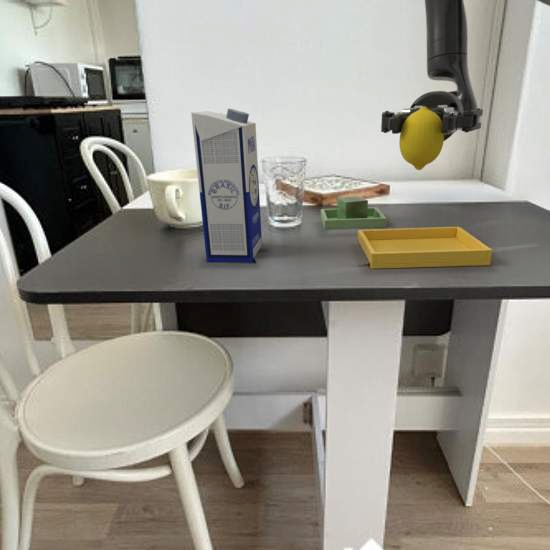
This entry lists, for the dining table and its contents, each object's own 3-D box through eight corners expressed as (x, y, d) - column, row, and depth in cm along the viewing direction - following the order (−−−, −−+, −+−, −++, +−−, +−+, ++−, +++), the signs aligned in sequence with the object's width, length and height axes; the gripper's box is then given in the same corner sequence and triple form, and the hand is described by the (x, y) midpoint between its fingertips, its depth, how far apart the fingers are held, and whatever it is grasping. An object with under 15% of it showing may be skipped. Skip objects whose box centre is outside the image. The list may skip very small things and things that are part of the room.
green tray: (376, 218, 80) (376, 207, 80) (386, 230, 73) (386, 218, 72) (320, 220, 81) (320, 209, 80) (324, 232, 73) (324, 220, 72)
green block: (357, 218, 79) (358, 195, 77) (367, 223, 75) (368, 200, 74) (336, 220, 78) (337, 197, 76) (345, 225, 74) (345, 202, 73)
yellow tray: (457, 239, 66) (459, 226, 66) (490, 265, 56) (492, 249, 55) (357, 243, 67) (357, 229, 66) (370, 268, 57) (371, 253, 56)
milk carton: (220, 246, 68) (207, 109, 61) (262, 247, 67) (254, 107, 60) (206, 262, 62) (190, 110, 54) (252, 262, 60) (243, 108, 53)
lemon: (396, 173, 57) (400, 108, 54) (398, 166, 62) (402, 106, 59) (441, 173, 56) (448, 106, 53) (440, 167, 61) (446, 105, 58)
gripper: (391, 93, 70) (363, 94, 56) (490, 88, 64) (487, 89, 50) (388, 141, 73) (361, 154, 59) (483, 141, 67) (478, 156, 53)
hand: (419, 124), depth 55 cm, fingers closed on lemon, 5 cm apart
